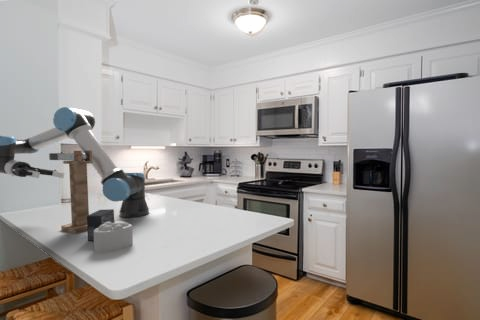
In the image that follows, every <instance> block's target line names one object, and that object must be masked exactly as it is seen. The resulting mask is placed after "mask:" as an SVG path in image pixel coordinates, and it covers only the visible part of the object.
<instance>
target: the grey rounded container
mask: <svg viewBox="0 0 480 320" xmlns="http://www.w3.org/2000/svg"><path fill="white" fill-rule="evenodd" d="M133 238H134V237H133V225H132V224H131V223H128V222H127V221H122V220H116V221H114V223H111V222H105V223H104V224H103V225H100V226H99V227H98V228H96V229H95V230H94V241H93V250H94V252H95V251H96V253H106V252H105V251H109V252H114V251H113V250H115V251H118V250H121V248H122V249H124V247H125V248H127V247H130V246H132V245H133V244H132V243H133V242H134V241H133ZM131 244H132V245H131ZM129 245H130V246H129ZM126 246H127V247H126ZM117 249H118V250H117Z"/></svg>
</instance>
